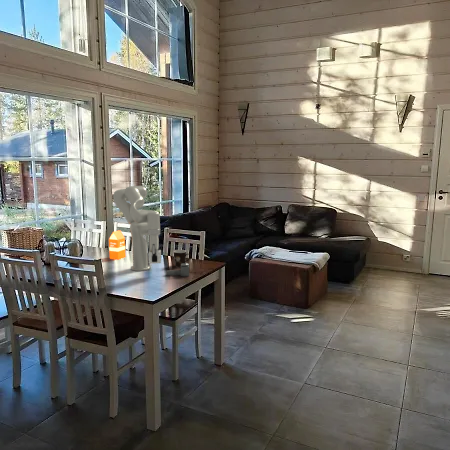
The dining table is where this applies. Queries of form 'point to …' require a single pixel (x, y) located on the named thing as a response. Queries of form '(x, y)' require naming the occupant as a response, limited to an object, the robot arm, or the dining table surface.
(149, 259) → the lock
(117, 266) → the dining table surface
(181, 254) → the coffee mug
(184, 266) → the coupler
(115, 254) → the orange juice
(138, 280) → the dining table surface
